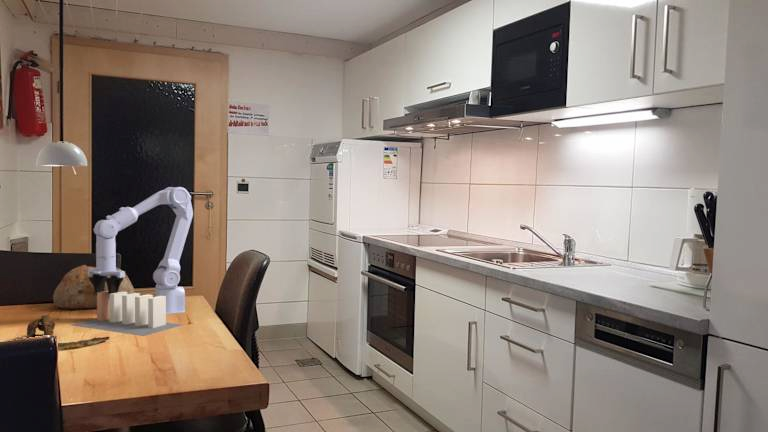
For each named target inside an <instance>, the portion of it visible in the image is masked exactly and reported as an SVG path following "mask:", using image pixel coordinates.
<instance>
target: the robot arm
mask: <svg viewBox="0 0 768 432" xmlns="http://www.w3.org/2000/svg"><path fill="white" fill-rule="evenodd" d="M191 200H192V195H190V192H189V191H188V190H187V189H186V188H184V187H182V186H177V187H173V186H168V187H166V188H164V189H162V190H160V191H157V192H156V193H153V194H151V196H149V197H148V198H146V199H144V200H143V201H141V202H139V203H138V204H136V205H135V206H133V207H130V206H126V207H124V206H122V207H119V209H118V210H119V211H117V212H115V213H113V214H111V215H109V214H108V215H107V216H105V218H106V219H100V220H98V221H97V222H96V223H95V225H94V228H93V233H94V234H95V236H96V238H95V240H96V243H95V260H96V261H95V262H96V264H95V265H96V266H95V267H96V269H88V275H93V276H92V277H89V280H90V281H91V283H92V285H93V287H94V289H95V293H96V296H97V292H103V291H104V290H105V282H106V283H107V286H108V294H109V299H110V294H112V293H117V292H118V289H119V286H120V284H121V282H122V281H123V277H125V274H126V271H124V270H122V271H120V270H116V267H117V266H116V265H117V263H116V262H117V260H116V258H117V255H116V252H117V251H116V249H117V248H116V247H117V243H116V236H117V235H118V232H120V231H122V230H124V229H126V228H127V227H129V226H131V225H133V224H134V223H136V222H137V221H138V218H139V216H141V215H142V214H144V213H146V212H148V211H150V210H152V209H154V208H155V207H157V206H160V205H166V206H169V207H170V208H171V209H172V211H173V213H175V215H176V217H175V220H174V223H173V225H172V230H171V233H170V236H169V239H168V243H167V246H166V249H165V253H164V256H163V258H162V260H160V262H159V264H158V267H157V268H156V269H155V270H154V272H153V274H152V279H153V281H154V282H155V283H156V285H155V296H154V297H157V296H166V315H173V314H182V313H186V293H185V288H184V287H183V286H178V285H179V283H180V281H181V274H180V271H181V265H180V260H181V257H182V253H183V250H184V246H185V243H186V239H187V236H188V234H189V230H190V226H191V223H192V220H193V216H194V209H193V205H192V201H191ZM107 276H110V278H107Z"/></svg>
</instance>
